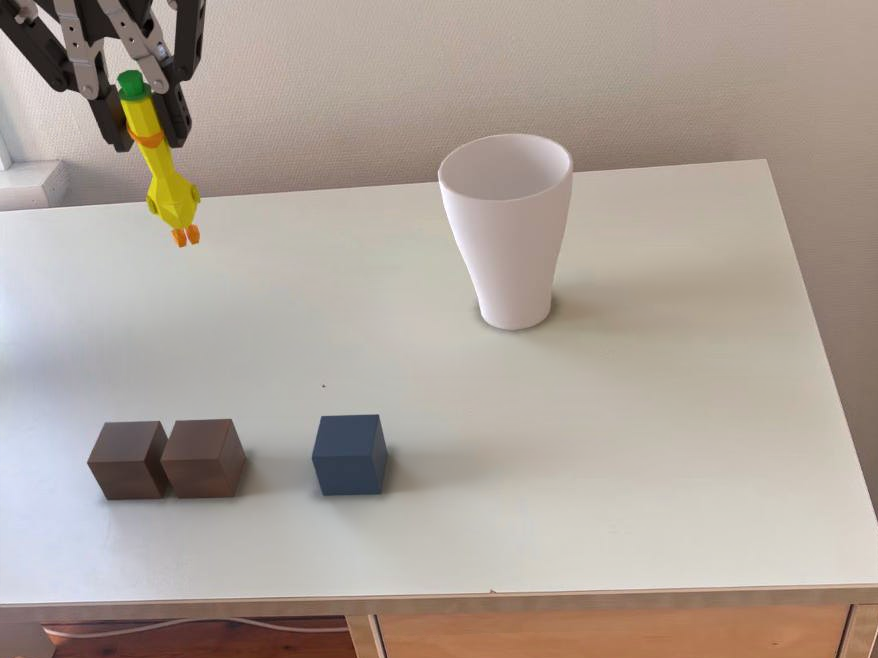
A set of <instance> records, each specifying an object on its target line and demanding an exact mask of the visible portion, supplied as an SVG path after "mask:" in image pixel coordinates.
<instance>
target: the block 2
mask: <svg viewBox="0 0 878 658" xmlns="http://www.w3.org/2000/svg"><path fill="white" fill-rule="evenodd" d="M246 460H247V455H246V452H245V450H244V447H243V444H242V442H241V438H240V437H239V433H238V432H237V429H236V425H235V424H234V421H233V419H232V418H209V419H208V418H207V419H205V418H204V419H178V420H177V419H176V420H175V422H174V424H173V427H172V429H171V431H170V434H169V437H168V442H167V445H166V447H165V450H164V452H163V455H162V458H161V460H160V462H161V464H162V466H163V468H164V470H165V472H166V474H167V476H168V478H169V482H170V485H171V487H172V489H173V491H174V494H175V496H176V497H177V499H179V500H182V499H183V500H187V499H229V498H235V496H236V493H237V489H238V486H239V482H240V480H241V476H242V474H243V470H244V466H245V463H246Z"/></svg>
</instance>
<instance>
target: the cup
mask: <svg viewBox="0 0 878 658" xmlns="http://www.w3.org/2000/svg"><path fill="white" fill-rule="evenodd" d="M572 157H573V156H572V154H571V153H570V152H569V150H567V148H565V146H564V145H563V144H561V143H558V142H557V141H555V140H554V139H550V138H547V137H544V136H541V135H535V134H529V133H528V134H527V133H502V134H494V135H489V136H485V137H481V138H476V139H473V140H472V141H470V142H467V143H464V144H462V145H460V146H459V147H457V148H455V149H454V150H452V151H451V152H449V154H448V155H447V156H445V158H443V160H442V161H441V164H440V166H439V168H438V171H437V177H438V183H439V188H440V192H441V198H442V202H443V207H444V210H445V214H446V216H447V219H448V222H449V226H450V228H451V231H452V234H453V237H454V241H455V243H456V245H457V248H458V250H459V252H460V254H461V257H462V259H463V261H464V263H465V265H466V268H467V270H468V272H469V276H470V279H471V281H472V284H473V287H474V289H475V292H476V295H477V301H478V304H479V305H478V306H479V310H480V314H481V316H482V318H483V320H484V321H485V322H486V323H488V325H490V326H493V327H495V328H497V329H501V330H507V331H511V330H512V331H515V330H516V331H517V330H524V329H528V328H531V327H534V326H536V325H538V324H540V323H542V322H543V321H544V320H545V319H546V318H547V316H548V315H549V314H550V312H551V311H550V310H551V307H552V294H553V283H554V279H555V278H554V277H555V272H556V268H557V263H558V258H559V254H560V252H561V249H562V248H561V247H562V244H563V239H564V236H565V231H566V228H567V227H566V226H567V222H568V216H569V209H570V204H571V200H572V199H571V198H572V193H573V179H574V178H573V177H574V176H573V175H574V160H573V158H572Z"/></svg>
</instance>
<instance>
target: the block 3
mask: <svg viewBox="0 0 878 658" xmlns="http://www.w3.org/2000/svg"><path fill="white" fill-rule="evenodd" d="M388 455H389V453H388V448H387V443H386V439H385V435H384V430H383V426H382V422H381V418H380V414H379V413H375V414H373V413H371V414H342V415H341V414H340V415H321V416H320V418H319V423H318V426H317V431H316V434H315V440H314V443H313V447H312V451H311V456H310V459H311V462H312V466H313V468H314V471H315V474H316V478H317V481H318V485H319V487H320V491H321V494H322V496H323V497H325V496H326V497H328V496H333V497H334V496H375V495H377V496H378V495H379V496H380V495H381V494H382V491H383V484H384V478H385V473H386V468H387V467H386V466H387V460H388Z"/></svg>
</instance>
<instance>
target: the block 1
mask: <svg viewBox="0 0 878 658" xmlns="http://www.w3.org/2000/svg"><path fill="white" fill-rule="evenodd" d="M168 439H169V437H168V435H167V433H166V430H165V428H164V426H163V424H162V422H161V421H160V420H138V421H134V420H133V421H106V422H104V423H103V425H102V427H101V430H100V432H99V434H98V437H97V438H96V441H95V443H94V445H93V448H92V450H91V452H90V454H89V456H88V458H87V461H86V465H87V466H88V468H89V470H90V472H91V473H92V476H93V478H94V479H95V481H96V483H97V484H98V486H99V488H100V490H101V491H102V493H103V495H104V497H105V499H106V500H107V501H134V500H136V501H139V500H163V499H164V496H165V493H166V491H167V488H168V485H169V482H170V481H169V478H168V476H167V474H166V472H165V470H164V468H163V466H162V464H161V462H160V460H161V458H162V455H163V452H164V450H165V447H166V445H167V442H168Z"/></svg>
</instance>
